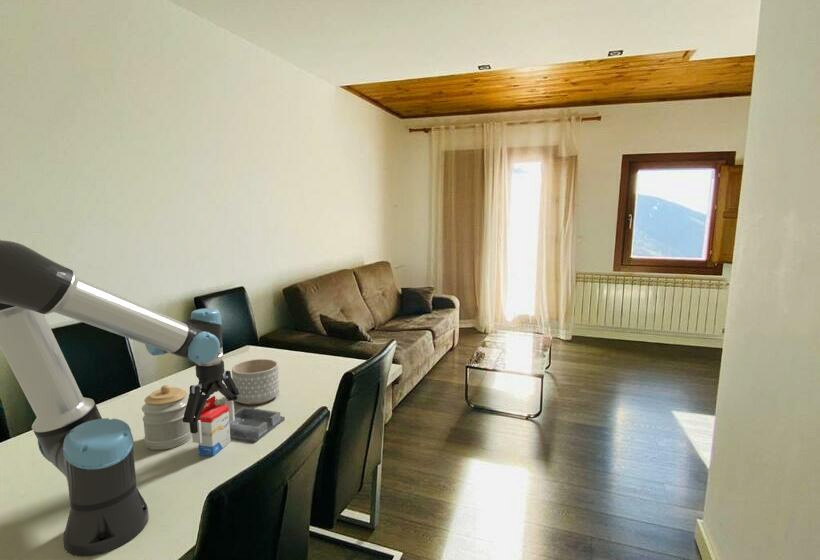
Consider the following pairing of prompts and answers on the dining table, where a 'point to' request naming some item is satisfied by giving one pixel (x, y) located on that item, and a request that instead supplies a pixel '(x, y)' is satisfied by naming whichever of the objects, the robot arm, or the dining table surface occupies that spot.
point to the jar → (165, 418)
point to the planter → (256, 381)
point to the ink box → (214, 428)
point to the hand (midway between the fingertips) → (214, 430)
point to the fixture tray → (253, 424)
